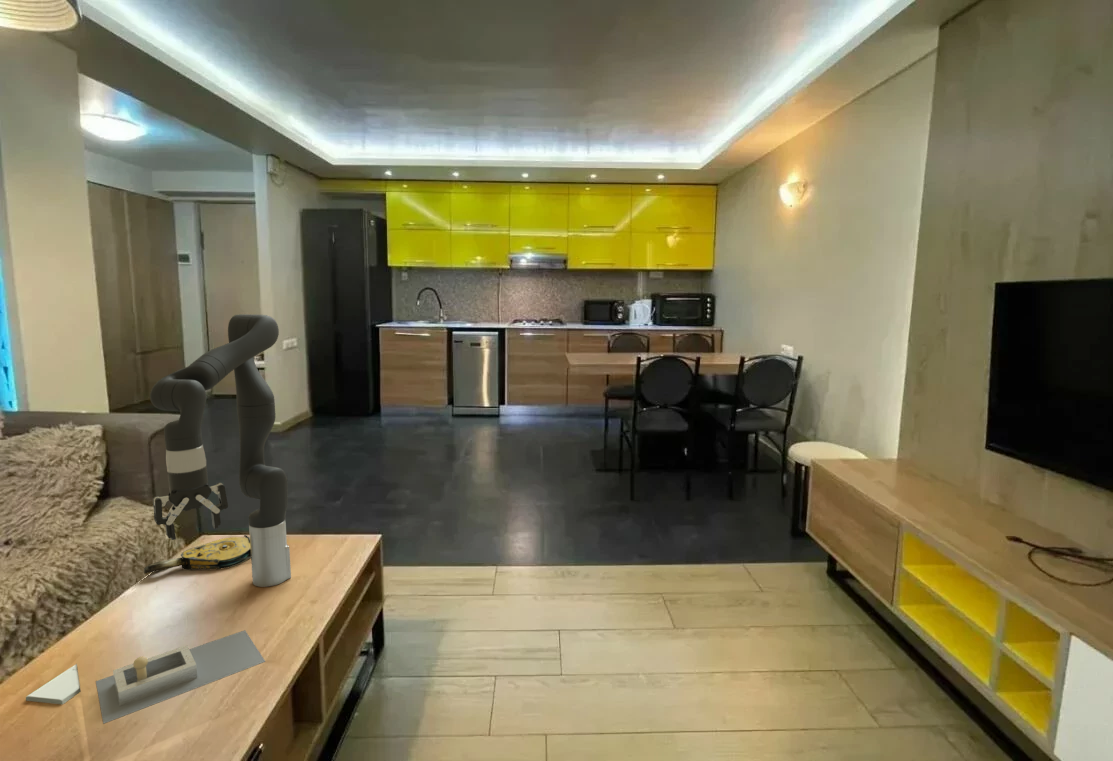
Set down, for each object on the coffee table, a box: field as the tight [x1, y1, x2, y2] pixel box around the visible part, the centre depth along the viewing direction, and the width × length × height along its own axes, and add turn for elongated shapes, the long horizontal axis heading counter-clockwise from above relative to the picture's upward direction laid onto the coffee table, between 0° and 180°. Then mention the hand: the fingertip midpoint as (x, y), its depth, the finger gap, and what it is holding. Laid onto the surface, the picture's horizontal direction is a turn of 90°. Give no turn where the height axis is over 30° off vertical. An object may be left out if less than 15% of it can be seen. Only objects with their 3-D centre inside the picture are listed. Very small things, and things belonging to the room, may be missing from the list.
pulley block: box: [143, 534, 251, 574], centre depth 174 cm, size 14×6×30 cm
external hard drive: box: [25, 663, 82, 705], centre depth 120 cm, size 2×8×12 cm
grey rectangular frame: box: [112, 644, 197, 707], centre depth 119 cm, size 13×9×3 cm
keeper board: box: [95, 629, 266, 724], centre depth 122 cm, size 28×16×7 cm, turn 132°
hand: (194, 533), depth 133 cm, fingers open, 8 cm apart
